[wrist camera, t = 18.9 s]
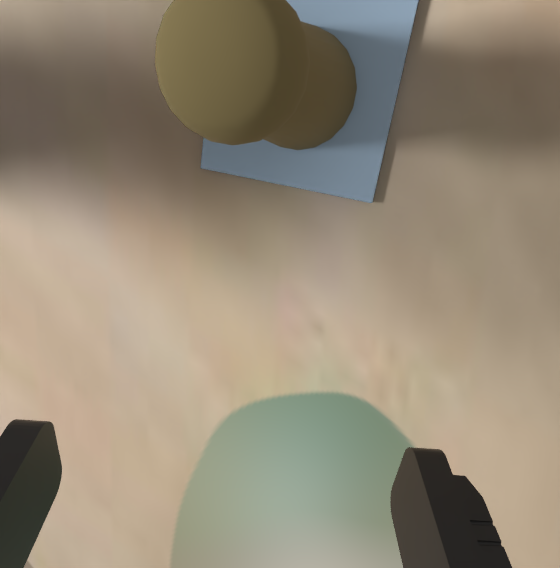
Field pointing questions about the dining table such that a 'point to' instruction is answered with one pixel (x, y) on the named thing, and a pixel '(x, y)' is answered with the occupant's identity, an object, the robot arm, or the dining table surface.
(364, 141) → the pad
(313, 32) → the cork
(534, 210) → the dining table surface
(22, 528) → the robot arm
